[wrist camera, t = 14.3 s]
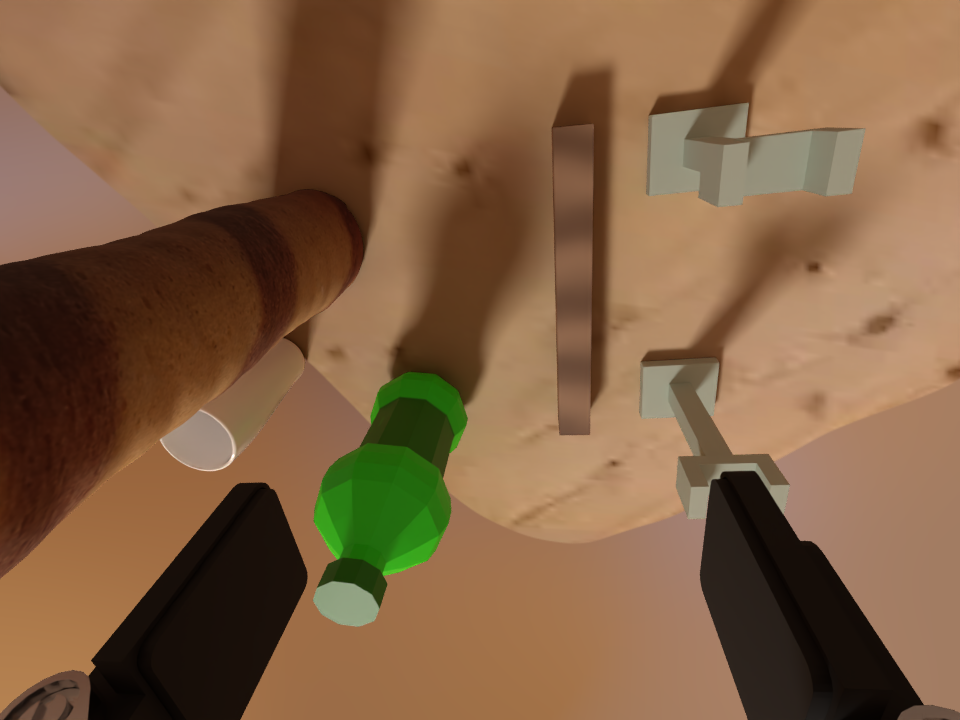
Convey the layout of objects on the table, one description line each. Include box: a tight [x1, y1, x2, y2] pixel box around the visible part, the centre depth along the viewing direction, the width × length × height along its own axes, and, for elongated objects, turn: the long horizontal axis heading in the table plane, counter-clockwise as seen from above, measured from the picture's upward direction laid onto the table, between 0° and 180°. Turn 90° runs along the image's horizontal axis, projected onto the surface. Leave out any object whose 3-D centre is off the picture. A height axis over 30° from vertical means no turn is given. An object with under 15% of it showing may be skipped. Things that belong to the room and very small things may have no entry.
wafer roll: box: [0, 189, 363, 578], centre depth 25 cm, size 10×11×45 cm
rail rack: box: [639, 103, 865, 519], centre depth 36 cm, size 28×7×17 cm, turn 7°
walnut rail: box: [552, 124, 594, 435], centre depth 44 cm, size 28×3×4 cm, turn 6°
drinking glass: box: [160, 338, 305, 471], centre depth 45 cm, size 7×7×15 cm
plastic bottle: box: [313, 372, 468, 627], centre depth 41 cm, size 10×10×25 cm
